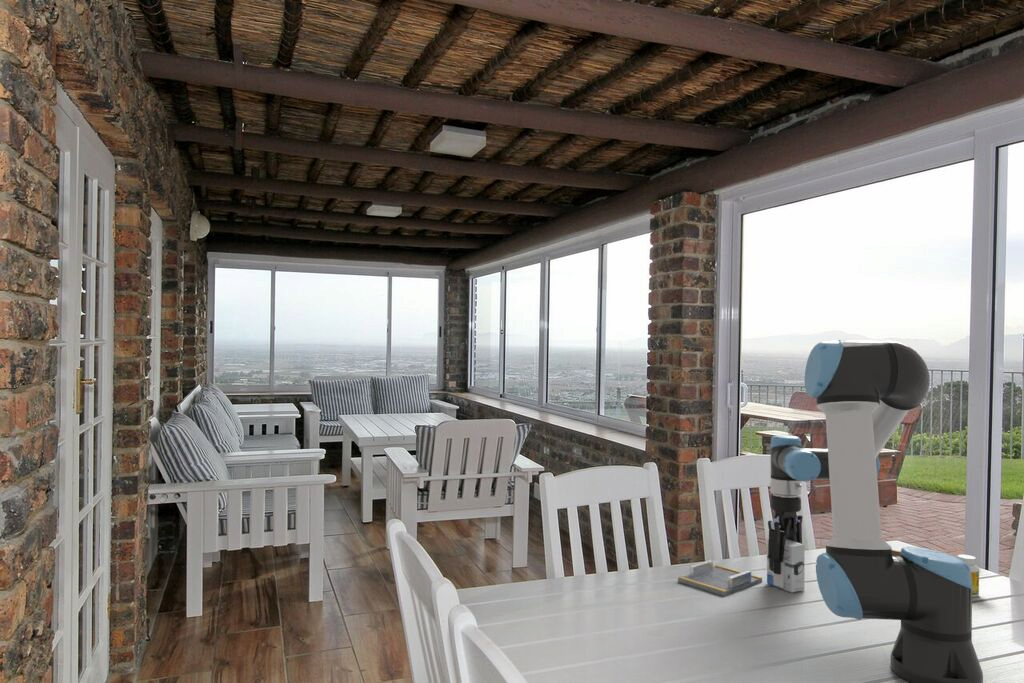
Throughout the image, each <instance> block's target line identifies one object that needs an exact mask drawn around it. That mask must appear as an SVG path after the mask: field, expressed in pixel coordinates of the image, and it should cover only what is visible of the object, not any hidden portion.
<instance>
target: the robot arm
mask: <svg viewBox="0 0 1024 683" xmlns="http://www.w3.org/2000/svg"><path fill="white" fill-rule="evenodd" d="M805 364H806V365H805V371H804V388H805V392H806V394H807V395H808V397H810V398H813V399H815V401H816V407H817V409H819V411H820V412H822V413H823V414H824V416H825V429H826V445H827V448H803V446H802V439H801V438H800V437H799V436H795V435H789V434H788V435H787V434H786V435H784V434H780V435H779V434H778V435H773V436H772V437H771V438H770V447H769V452H770V483H769V484H770V487H769V489H770V491H769V492H770V493H771V494H770V501H769V504H770V509H772V510H773V511H774V517H773V520H768V521H767V527H768V539H769V544H768V558H769V559H770V560H773V585H775V586H774V587H776V586H779V587H785V562H784V561H783V555H784V545H785V542H786V539H787V540H791V541H794V542H797V543H801V544H803V532H802V531H803V528H802V527H803V526H802V525H803V515H800V514H798V512H800V511H802V497H801V496H800V495H801V494H802V487H803V485H802V482H806V483H807V482H811V481H813V480H823V481H824V480H826V481H827V480H829V491H830V505H831V516H832V517H831V519H832V532H833V533H832V536H831V537H830V538H829V539H828V541H826V542H825V552H822V553H820V554H819V555H817V557H816V559H815V561H816V564H815V573H816V574H815V575H816V581H817V584H818V589H819V592H820V595H821V597H822V600H823V601H824V603H825V605H826V607H827V608H828V610H829V611H830V612H831V613H832V614H834V615H835V616H837V617H839V618H840V617H841V618H850V619H856V620H862V619H868V620H887V621H888V620H889V621H890V620H892V621H900V629H899V632H898V634H897V636H896V640H895V642H894V645H893V647H892V649H891V652H890V663H889V664H890V666H889V667H890V668H891V670H892V672H893V673H894V674H896V676H898V677H899V678H901V679H903V680H904V681H907V682H909V683H984V675H983V674H984V673H983V670H982V667H981V665H980V664H981V663H980V661H979V658H978V655H977V653H976V649H975V647H974V644H973V639H972V638H973V637H972V636H973V634H972V631H973V620H972V619H973V597H972V589H973V586H972V576H971V569H970V567H969V566H968V565H967V564H966V563H965V562H964V561H962V560H960V559H958V558H957V557H956V556H953V555H951V554H948V553H945V552H941V551H938V550H934V549H929V548H925V547H924V548H923V547H918V546H917V547H916V546H903V547H901V549H900V550H899V551H900V555H901V556H892V550H893V549H892V546H891V544H889V543H888V542H886V541H885V539H884V538H883V535H882V522H881V510H880V508H881V507H880V498H879V497H880V496H879V484H878V483H879V482H878V477H879V472H880V469H881V464H880V463H881V462H880V458H879V455H880V453H881V451H882V450H883V448H884V447H885V446H886V445H887V443H888V441H889V440H890V439H891V437H892V436H893V434H894V433H895V431H896V430H897V428H898V427H899V426H900V424H901V423H902V421H903V420H904V418H905V417H906V416H907V414H908V413H909V411H912V410H915V409H917V408H918V407H919V406H920V405H921V404H922V402H923V401H924V400H925V398H926V396H927V394H928V392H929V388H930V384H931V383H930V382H931V380H930V378H931V377H930V372H929V369H928V366H927V363H926V361H925V360H924V359H923V357H922V356H921V355H920V354H919V353H918V352H917V350H915V349H913V348H912V347H910V346H909V345H907V344H904V343H902V342H898V341H893V340H882V341H877V340H847V339H846V340H845V339H844V340H841V339H837V340H828V341H827V340H825V341H824V340H823V341H820V342H818V343H816V344H815V345H814V346H813V348H812V349H811V351H810V353H809V355H808V358H807V361H806V363H805ZM773 585H772V586H773ZM779 587H778V588H779Z"/></svg>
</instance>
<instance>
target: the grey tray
mask: <svg viewBox="0 0 1024 683" xmlns="http://www.w3.org/2000/svg"><path fill="white" fill-rule="evenodd" d="M677 582H678V583H680V584H683V585H685V586H688V587H693V588H695V589H699V590H702V591H705V592H709V593H711V594H715V595H718V596H721V597H727V596H729V595H732V594H734V593H737V592H739V591H742V590H745V589H748V588H749V587H752V586H755V585H757V584H760V583H763V578H762V576H758V575H755V574H752V571H750V570H745V571H740V570H737V569H733V568H729V567H725V566H722V565H719V564H714V561H713V560H710V559H707V560H705V561H702V562H698V563H695V564H693V565H689V574H687V575H684V576H678V578H677Z"/></svg>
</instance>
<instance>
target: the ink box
mask: <svg viewBox="0 0 1024 683" xmlns="http://www.w3.org/2000/svg"><path fill="white" fill-rule="evenodd" d="M766 541H767V542H766V543H767V544H766V547H767V551H766V558H767V559H766V568H767V569H766V583H767V584H769V585H771V586H774V587H777V588H779V589H782V590H784V591H787V592H789V593H795V592H800V591H805V550H806V549H805V545H804V544H803V543H802V544H801V543H797V542H794V541H791V540H787V539H786V542H785V545H784V555H783V561H784V562H785V587H779V586H775V585H773V560H770V559H769V558H768V544H769V538H768V539H767V540H766Z"/></svg>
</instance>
